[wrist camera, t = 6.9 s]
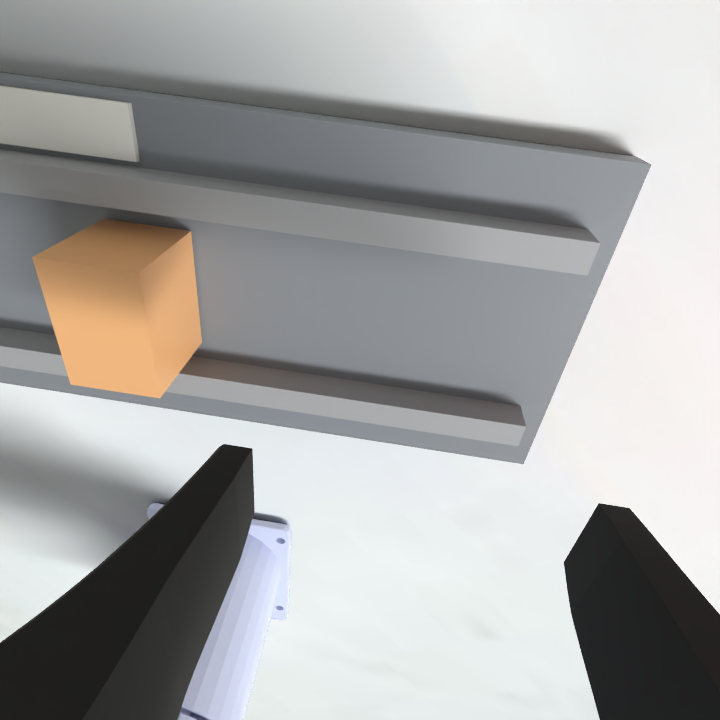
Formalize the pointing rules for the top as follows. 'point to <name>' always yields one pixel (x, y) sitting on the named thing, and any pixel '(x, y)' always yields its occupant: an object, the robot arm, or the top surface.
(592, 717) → the top surface
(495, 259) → the rails
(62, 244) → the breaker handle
